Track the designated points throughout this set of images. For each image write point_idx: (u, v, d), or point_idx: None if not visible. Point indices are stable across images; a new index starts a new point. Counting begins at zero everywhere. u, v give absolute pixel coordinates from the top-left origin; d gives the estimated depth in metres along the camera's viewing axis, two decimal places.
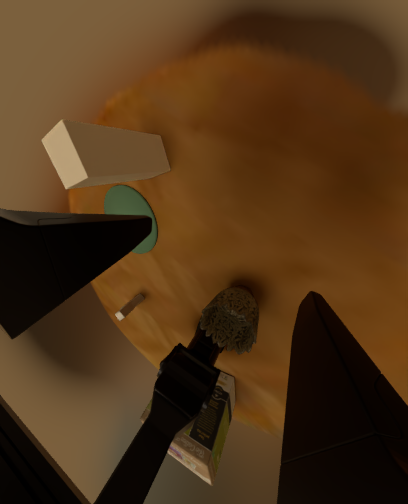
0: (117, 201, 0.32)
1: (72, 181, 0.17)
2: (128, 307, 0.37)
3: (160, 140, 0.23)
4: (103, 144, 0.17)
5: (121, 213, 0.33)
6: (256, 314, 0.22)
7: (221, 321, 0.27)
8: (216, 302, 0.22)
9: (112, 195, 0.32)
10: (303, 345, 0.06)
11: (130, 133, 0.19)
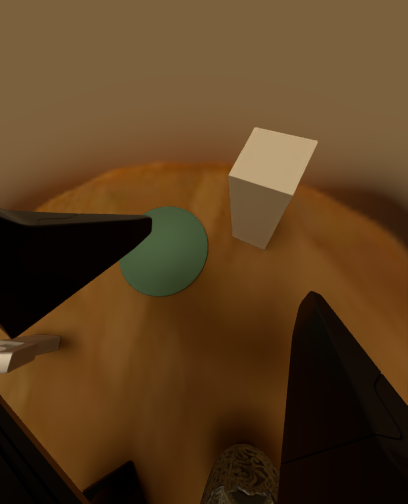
0: (171, 221, 0.25)
1: (254, 178, 0.12)
2: (28, 353, 0.19)
3: None
4: None
5: (162, 234, 0.25)
6: None
7: None
8: (264, 486, 0.11)
9: (172, 213, 0.26)
10: (303, 345, 0.06)
11: None
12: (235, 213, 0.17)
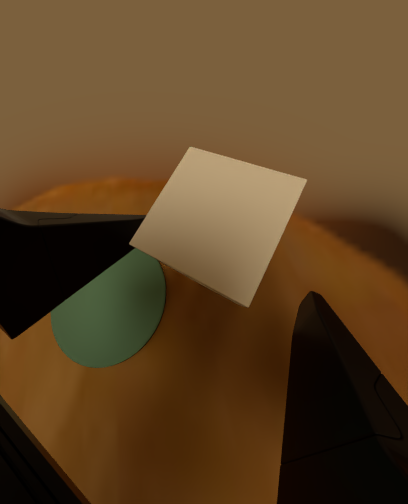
0: (121, 259, 0.19)
1: (175, 257, 0.06)
2: None
3: None
4: None
5: (108, 275, 0.19)
6: None
7: None
8: None
9: None
10: (303, 345, 0.06)
11: None
12: None
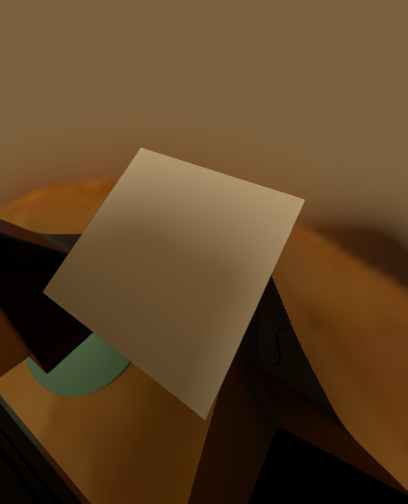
0: None
1: (102, 318, 0.04)
2: None
3: None
4: None
5: None
6: None
7: None
8: None
9: None
10: None
11: None
12: None
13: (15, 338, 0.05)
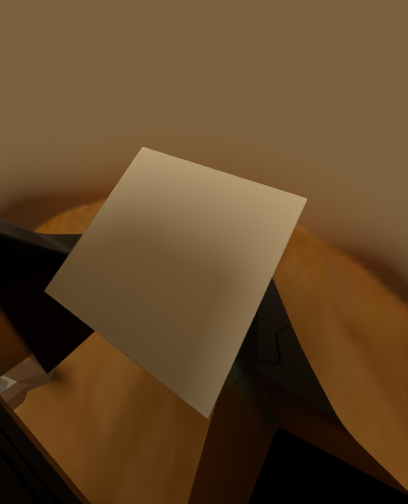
0: None
1: (104, 317, 0.04)
2: (17, 399, 0.18)
3: None
4: None
5: None
6: None
7: None
8: None
9: None
10: None
11: None
12: None
13: (15, 338, 0.05)
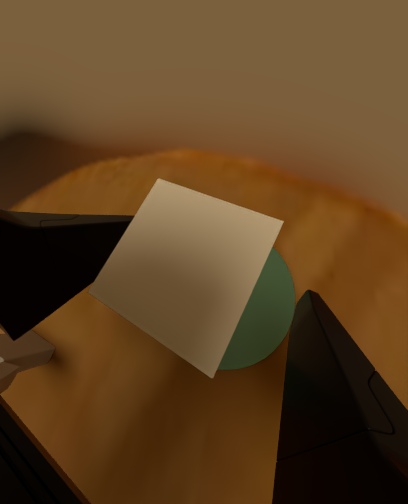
0: None
1: (135, 311, 0.05)
2: None
3: None
4: None
5: None
6: None
7: None
8: None
9: None
10: (299, 343, 0.06)
11: None
12: None
13: None
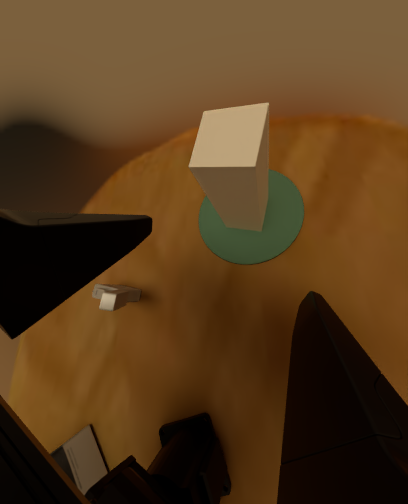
0: None
1: (214, 162, 0.11)
2: (123, 298, 0.20)
3: (267, 201, 0.21)
4: (264, 158, 0.13)
5: None
6: None
7: None
8: None
9: None
10: (303, 345, 0.06)
11: (267, 174, 0.17)
12: (215, 203, 0.16)
13: None
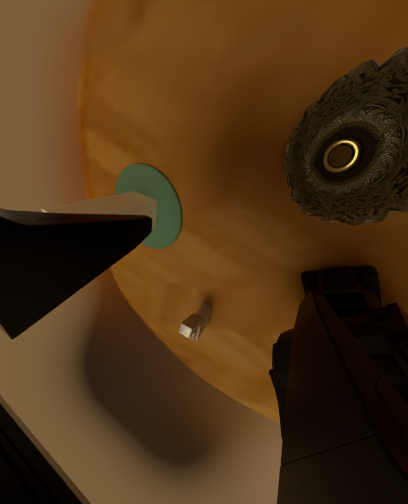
0: None
1: None
2: (193, 318, 0.26)
3: (135, 192, 0.26)
4: (81, 207, 0.19)
5: None
6: None
7: (338, 207, 0.13)
8: (299, 125, 0.10)
9: None
10: (303, 345, 0.06)
11: (105, 197, 0.23)
12: None
13: None
